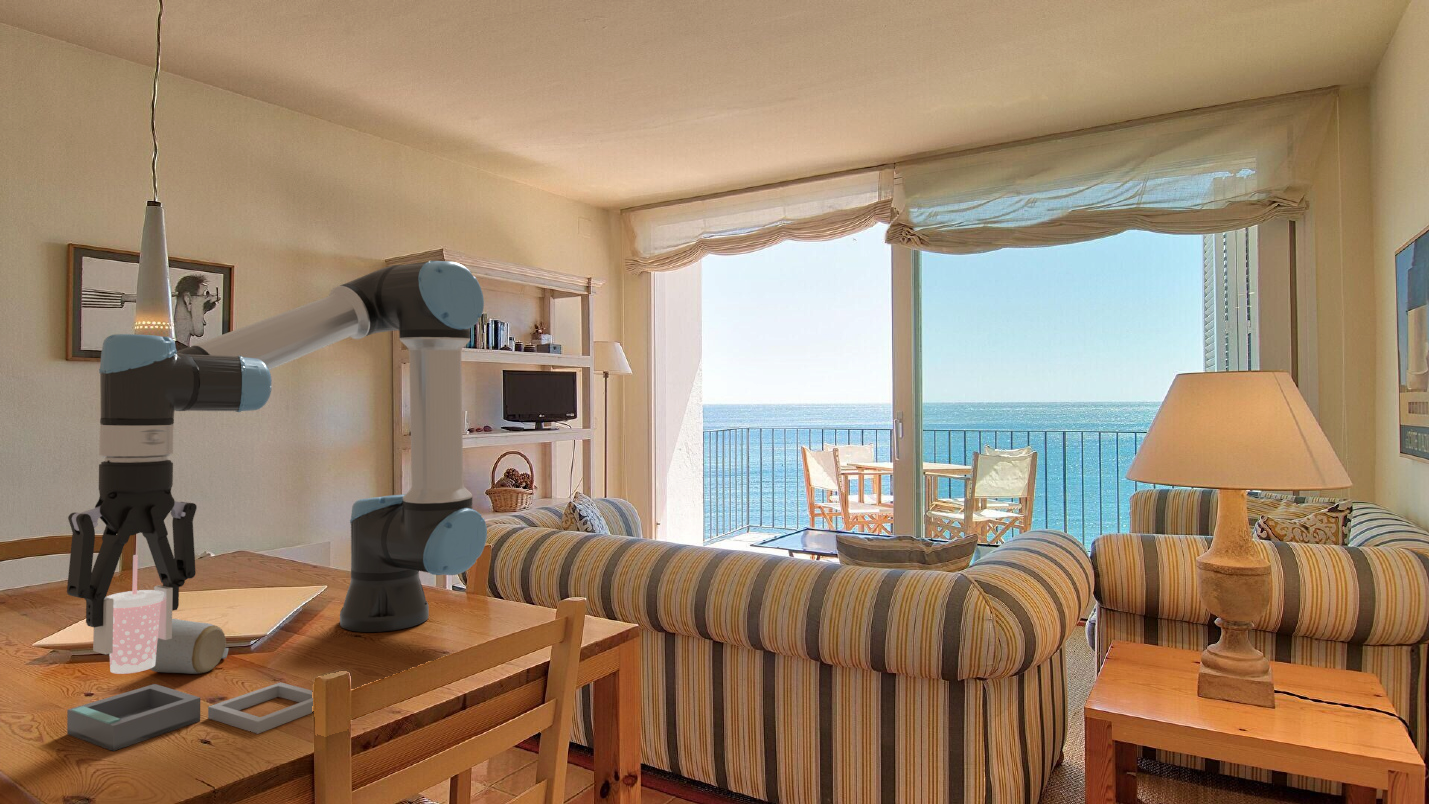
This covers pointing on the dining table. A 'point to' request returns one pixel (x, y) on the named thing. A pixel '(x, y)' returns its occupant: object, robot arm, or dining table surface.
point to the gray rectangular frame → (234, 717)
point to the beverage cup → (135, 628)
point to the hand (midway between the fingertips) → (133, 644)
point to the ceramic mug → (190, 648)
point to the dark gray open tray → (133, 716)
